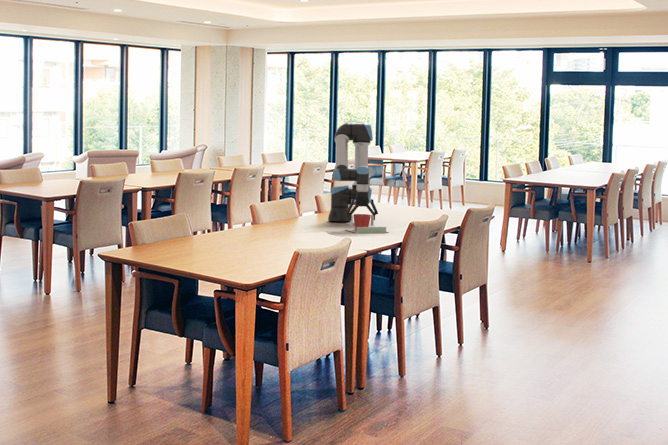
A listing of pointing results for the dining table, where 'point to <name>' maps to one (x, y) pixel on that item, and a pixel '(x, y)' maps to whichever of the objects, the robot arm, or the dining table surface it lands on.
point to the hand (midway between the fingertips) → (361, 225)
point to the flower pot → (361, 220)
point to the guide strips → (354, 232)
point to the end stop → (370, 229)
